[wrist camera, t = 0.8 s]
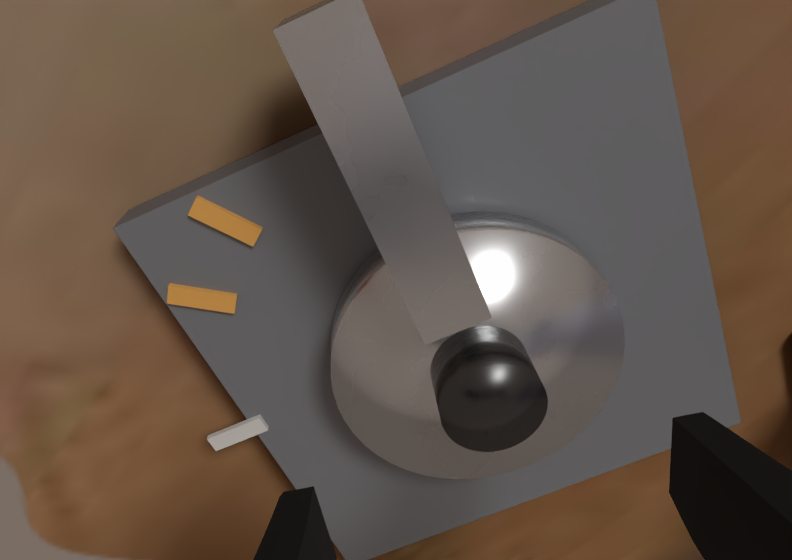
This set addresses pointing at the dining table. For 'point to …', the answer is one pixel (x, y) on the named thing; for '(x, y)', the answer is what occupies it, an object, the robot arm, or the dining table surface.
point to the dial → (446, 288)
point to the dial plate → (462, 192)
